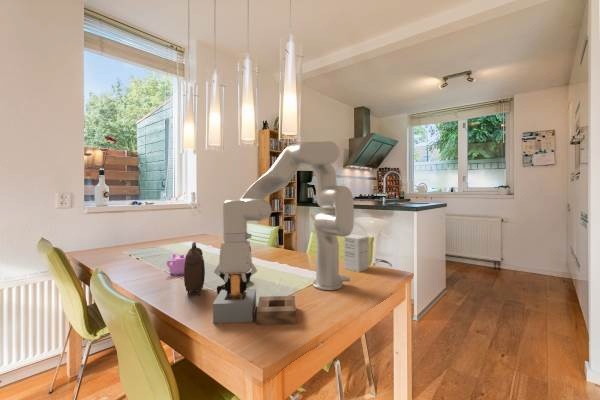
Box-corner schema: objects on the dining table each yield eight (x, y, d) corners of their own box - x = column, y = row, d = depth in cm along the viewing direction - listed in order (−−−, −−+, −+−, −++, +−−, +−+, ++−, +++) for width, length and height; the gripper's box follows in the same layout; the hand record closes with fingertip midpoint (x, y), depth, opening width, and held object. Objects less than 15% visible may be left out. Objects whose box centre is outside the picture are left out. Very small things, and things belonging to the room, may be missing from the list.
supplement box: (354, 265, 151) (354, 234, 151) (369, 268, 145) (369, 236, 144) (343, 268, 145) (343, 236, 144) (358, 272, 138) (358, 238, 137)
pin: (243, 306, 95) (242, 271, 94) (241, 312, 91) (241, 275, 90) (231, 307, 94) (230, 272, 94) (228, 312, 90) (228, 275, 90)
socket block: (256, 305, 99) (255, 289, 99) (252, 321, 87) (252, 302, 87) (221, 306, 98) (221, 289, 98) (213, 323, 86) (212, 303, 86)
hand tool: (223, 297, 108) (223, 285, 107) (216, 295, 110) (216, 283, 109) (254, 282, 124) (254, 272, 124) (247, 281, 126) (247, 271, 126)
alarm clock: (204, 297, 106) (203, 245, 106) (183, 299, 104) (182, 246, 103) (205, 285, 120) (205, 238, 119) (187, 286, 118) (186, 239, 117)
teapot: (172, 269, 145) (172, 252, 144) (200, 268, 146) (199, 251, 146) (163, 276, 133) (163, 257, 133) (193, 275, 134) (193, 257, 134)
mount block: (294, 307, 98) (294, 295, 98) (296, 323, 86) (296, 310, 86) (259, 308, 97) (259, 296, 97) (256, 324, 85) (256, 311, 85)
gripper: (261, 235, 96) (262, 288, 97) (212, 236, 95) (213, 289, 96) (260, 239, 88) (260, 296, 89) (206, 240, 87) (207, 297, 88)
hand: (236, 292), depth 92 cm, fingers closed on pin, 4 cm apart
